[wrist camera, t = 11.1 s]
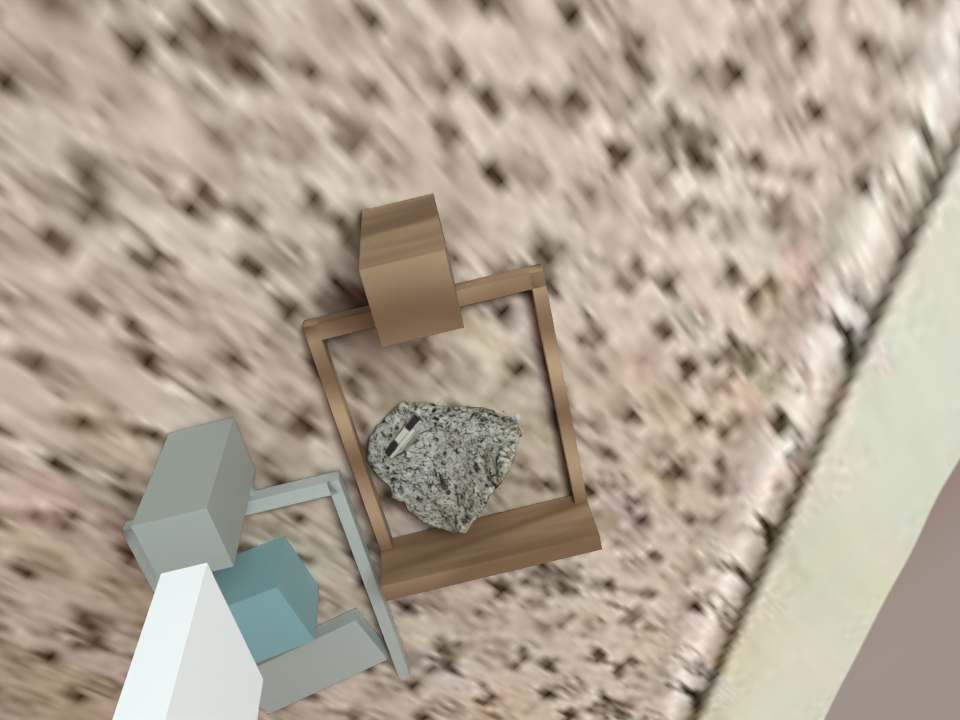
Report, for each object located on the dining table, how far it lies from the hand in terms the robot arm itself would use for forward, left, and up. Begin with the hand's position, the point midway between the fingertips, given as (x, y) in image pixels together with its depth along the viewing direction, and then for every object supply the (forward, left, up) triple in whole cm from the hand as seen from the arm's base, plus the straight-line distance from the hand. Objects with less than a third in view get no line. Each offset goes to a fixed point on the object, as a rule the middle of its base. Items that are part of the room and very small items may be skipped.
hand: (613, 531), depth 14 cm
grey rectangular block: (+35, -19, -35) cm, 53 cm away
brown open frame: (+16, -4, -34) cm, 38 cm away
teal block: (+27, -19, -35) cm, 48 cm away
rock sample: (+20, -6, -35) cm, 41 cm away
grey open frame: (+26, -19, -35) cm, 47 cm away
